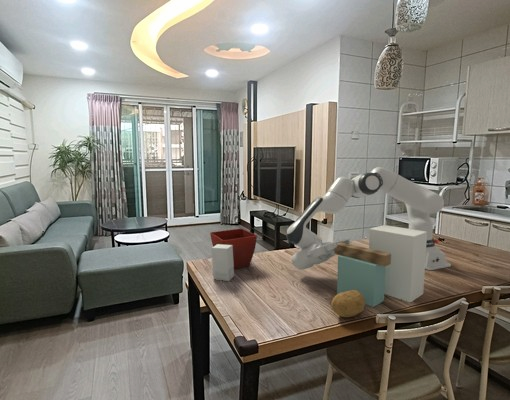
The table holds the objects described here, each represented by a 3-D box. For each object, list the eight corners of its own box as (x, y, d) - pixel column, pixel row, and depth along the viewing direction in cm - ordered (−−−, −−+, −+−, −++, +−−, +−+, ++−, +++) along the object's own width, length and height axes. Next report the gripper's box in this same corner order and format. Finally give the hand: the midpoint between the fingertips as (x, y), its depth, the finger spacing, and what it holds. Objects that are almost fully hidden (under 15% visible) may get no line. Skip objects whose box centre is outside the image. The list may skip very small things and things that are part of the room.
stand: (381, 281, 143) (383, 224, 140) (423, 293, 129) (427, 231, 126) (367, 288, 135) (369, 228, 132) (410, 302, 122) (414, 236, 118)
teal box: (348, 288, 135) (349, 252, 133) (383, 300, 123) (385, 261, 121) (337, 293, 130) (338, 255, 128) (373, 307, 118) (375, 265, 116)
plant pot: (223, 273, 154) (222, 240, 152) (210, 262, 171) (209, 232, 169) (258, 267, 163) (257, 235, 161) (242, 257, 180) (241, 228, 177)
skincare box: (234, 276, 150) (233, 244, 148) (228, 282, 143) (228, 248, 141) (218, 275, 152) (217, 243, 150) (212, 279, 146) (211, 247, 144)
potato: (322, 315, 112) (323, 293, 111) (349, 304, 120) (349, 284, 119) (344, 327, 104) (345, 304, 103) (371, 315, 112) (372, 293, 111)
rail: (334, 253, 132) (334, 244, 131) (339, 251, 134) (340, 242, 134) (385, 266, 115) (385, 255, 115) (390, 264, 118) (391, 253, 117)
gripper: (301, 250, 134) (325, 239, 124) (330, 242, 148) (353, 232, 138) (307, 264, 133) (331, 255, 123) (335, 255, 146) (359, 245, 136)
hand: (343, 242), depth 130 cm, fingers open, 8 cm apart
